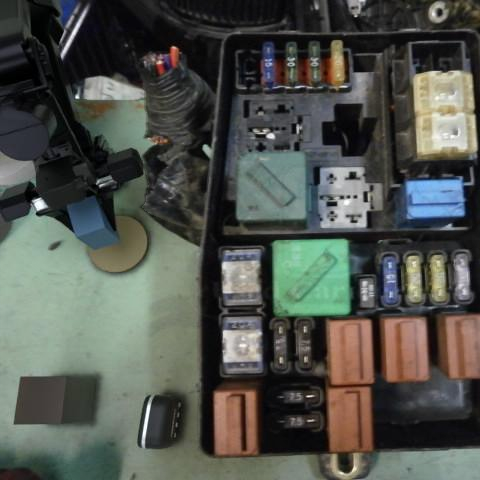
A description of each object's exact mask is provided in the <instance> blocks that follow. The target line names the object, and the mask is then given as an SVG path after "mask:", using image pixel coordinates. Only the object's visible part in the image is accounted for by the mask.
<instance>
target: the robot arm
mask: <svg viewBox="0 0 480 480" xmlns="http://www.w3.org/2000/svg"><path fill="white" fill-rule="evenodd" d="M63 16H64V12H63V9H62V7H61V3H60V1H59V0H0V152H1V153H2V154H3V155H4V156H6V157H8V158H9V159H11V160H15V161H19V162H32V164H33V165H34V171H35V183H34V182H32V181H31V180H28V181H25V182H22V183H19V184H16V185H13V186H10V187H7V188H5V189H4V190H3V193H2V194H1V196H0V217H1V218H2V220H3V221H4V222H6V223H8V222H9V223H10V222H12V221H15V220H18V219H21V218H25V217H27V216H29V214H30V211H31V209H32V207H33V208H34V210H35V216H37V217H38V218H40V217H49V218H51V219H55V220H56V221H58V222H59V223H61V224H62V225H63V226H64V227H65V228H67V229H68V230H69V231H71V232H72V233H73V234H74V235H75V233H74V229H73V226H72V222H71V219H70V216H69V212H68V209H67V205H69V204H72V203H79V202H81V201H83V200H84V199H85V198H88V197H91V196H93V195H95V196H96V197H97V198H98V199H99V200H100V201H101V202H102V205H103V208H104V210H105V213H106V216H107V218H108V221H109V223H110V225H111V227H112V229H113V230H114V232H115V231H117V224H116V216H117V215H116V207H115V197H114V196H115V195H114V193H115V192H117V191H119V190H120V188H121V187H122V186H124V185H125V183H127V182H131V181H133V180H137V179H139V178H141V177H142V176H144V174H145V172H144V171H145V170H144V161H143V159H142V157H141V154H140V152H139V151H138V149H137V148H136V149H135V148H134V147H128V148H125V149H122V150H119V151H115V150H114V149H113V148H112V147H110V145H109V142H108V140H107V139H106V138H105V136H104V135H103V134H99V135H95V136H94V135H93V134H92V133H91V131H90V130H89V129H88V128H87V127H85V126H84V125H83V122H82V120H81V117H80V113H79V109H78V107H77V103H76V101H75V97H74V93H73V91H72V90H73V89H72V87H71V84H70V81H69V77H68V75H67V71H66V68H65V65H64V62H63V58H62V55H61V52H60V51H61V50H60V48H59V45H60V43H61V40H62V38H63V36H64V33H65V29H64V25H63V21H62V17H63Z"/></svg>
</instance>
